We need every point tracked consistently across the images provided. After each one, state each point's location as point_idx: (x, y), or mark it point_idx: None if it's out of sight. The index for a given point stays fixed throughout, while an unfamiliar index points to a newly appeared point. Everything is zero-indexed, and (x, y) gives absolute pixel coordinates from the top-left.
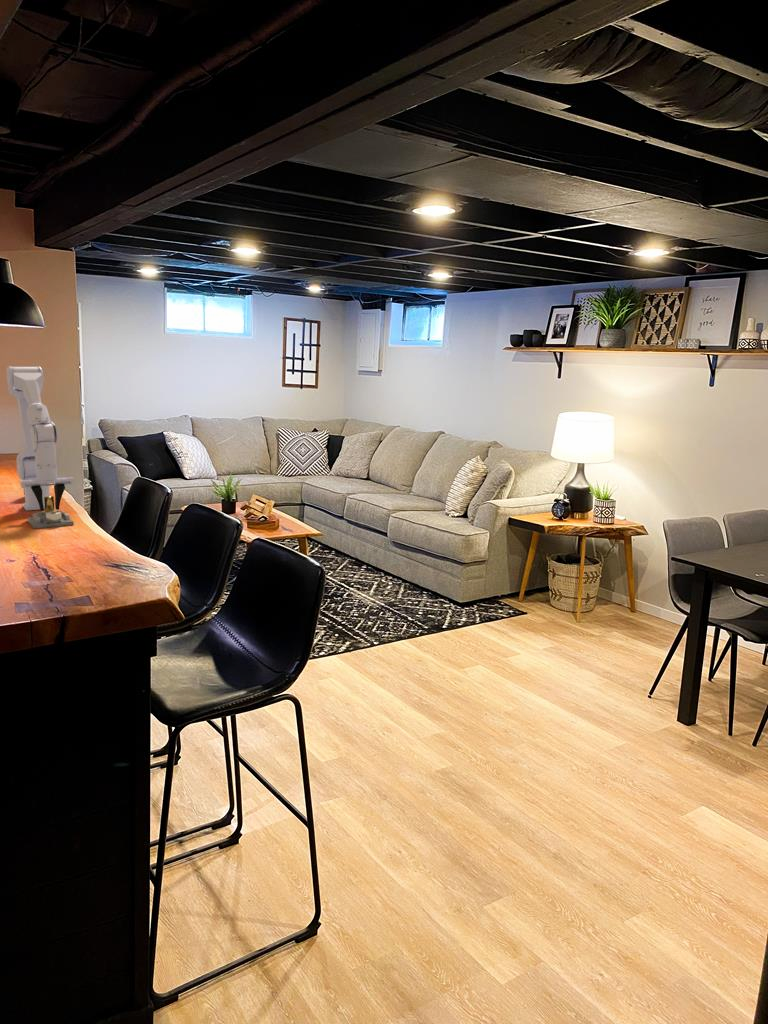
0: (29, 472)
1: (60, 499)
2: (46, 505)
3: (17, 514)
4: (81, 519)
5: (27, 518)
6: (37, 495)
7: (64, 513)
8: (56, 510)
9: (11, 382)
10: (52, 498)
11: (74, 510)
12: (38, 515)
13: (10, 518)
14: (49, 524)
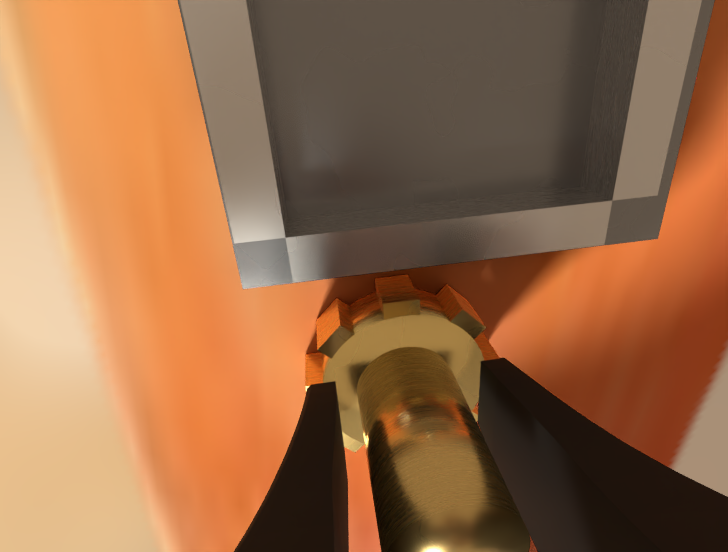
0: None
1: (275, 481)
2: (467, 411)
3: None
4: (11, 26)
5: (653, 219)
6: (716, 503)
7: (232, 2)
8: None
9: None
10: (403, 506)
11: (175, 526)
12: (570, 192)
13: (702, 375)
14: None
